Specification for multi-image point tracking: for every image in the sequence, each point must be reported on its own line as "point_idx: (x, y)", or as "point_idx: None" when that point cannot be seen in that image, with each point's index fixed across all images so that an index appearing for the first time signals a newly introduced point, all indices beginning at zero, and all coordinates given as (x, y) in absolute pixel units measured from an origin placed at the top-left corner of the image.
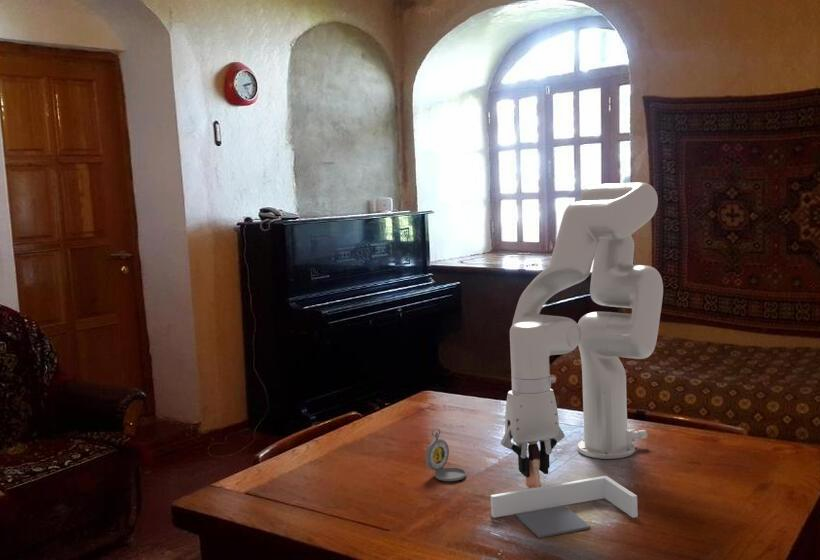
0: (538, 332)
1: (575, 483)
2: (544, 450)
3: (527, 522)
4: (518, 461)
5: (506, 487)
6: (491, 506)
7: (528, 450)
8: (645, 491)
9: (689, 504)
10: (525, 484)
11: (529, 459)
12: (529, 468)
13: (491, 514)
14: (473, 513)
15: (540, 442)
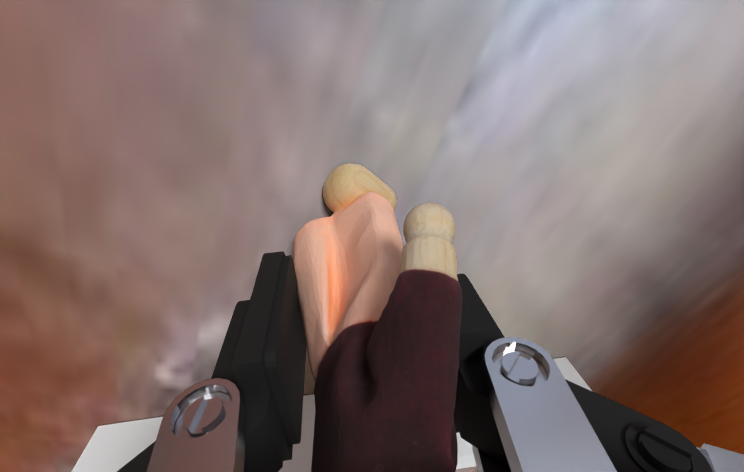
0: None
1: (462, 465)
2: (475, 444)
3: None
4: (222, 350)
5: (189, 178)
6: (76, 469)
7: (325, 423)
8: (688, 351)
9: (688, 428)
10: (294, 246)
11: (315, 393)
12: (303, 371)
13: (95, 432)
14: (10, 402)
15: (512, 464)
